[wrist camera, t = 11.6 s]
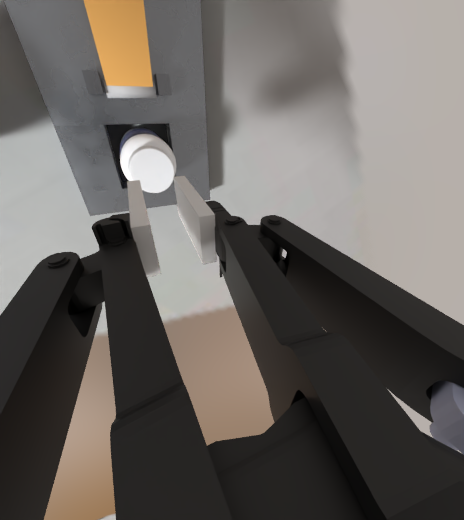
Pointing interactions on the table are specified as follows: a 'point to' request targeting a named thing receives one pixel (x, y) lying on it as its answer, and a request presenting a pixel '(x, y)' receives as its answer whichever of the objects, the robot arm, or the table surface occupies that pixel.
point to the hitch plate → (118, 109)
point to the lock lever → (122, 47)
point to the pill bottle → (147, 159)
